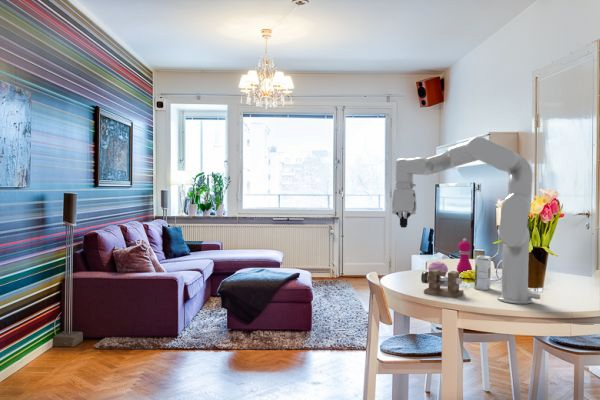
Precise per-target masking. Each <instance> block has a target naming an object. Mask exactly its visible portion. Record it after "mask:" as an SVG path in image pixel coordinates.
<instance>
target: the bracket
mask: <svg viewBox="0 0 600 400" xmlns="http://www.w3.org/2000/svg"><path fill="white" fill-rule="evenodd" d="M428 272H429V283H428V287H427V288H425V289H424V290H423V294H425V295H426V294H427V295H434V296H441V297H448V298H449V297H450V298H455V299H458V298H459V297H461V296H463V295H464V290H463V289H460V284H456V278H459V272H458V271H457V270H451V271H448V272H447V277H448V283H447V288H445V287H441V283H440V282H437V276H440V270H437V269H433V270H430V271H429V270H428Z"/></svg>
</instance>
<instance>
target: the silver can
mask: <svg viewBox="0 0 600 400" xmlns="http://www.w3.org/2000/svg"><path fill="white" fill-rule="evenodd" d="M491 265H492V257H491V256H489V255H477V256H475V265H474V266H475V267H474V289H475V290H481V291H488V290H489V289H490V288H491V274H492V272H491V270H492V267H491Z"/></svg>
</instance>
